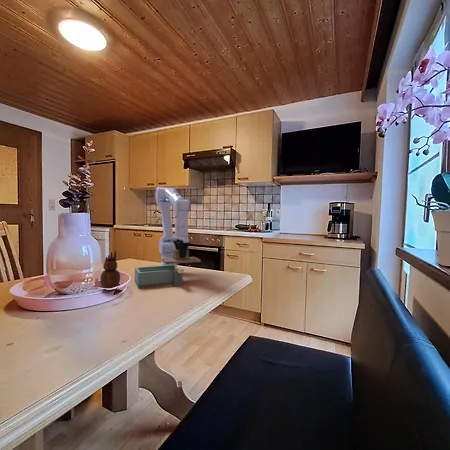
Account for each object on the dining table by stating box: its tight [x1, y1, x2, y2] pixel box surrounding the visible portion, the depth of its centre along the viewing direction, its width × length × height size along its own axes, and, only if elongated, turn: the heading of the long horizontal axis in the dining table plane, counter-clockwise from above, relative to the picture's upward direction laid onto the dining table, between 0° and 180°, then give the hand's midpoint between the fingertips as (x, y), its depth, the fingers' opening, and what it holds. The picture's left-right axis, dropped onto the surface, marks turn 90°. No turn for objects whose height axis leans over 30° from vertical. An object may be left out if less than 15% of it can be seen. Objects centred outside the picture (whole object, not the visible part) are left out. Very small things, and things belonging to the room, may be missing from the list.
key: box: [175, 265, 185, 274], centre depth 105 cm, size 6×2×2 cm, turn 26°
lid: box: [161, 249, 202, 264], centre depth 115 cm, size 8×15×5 cm, turn 116°
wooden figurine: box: [99, 250, 121, 289], centre depth 99 cm, size 7×6×15 cm
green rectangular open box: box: [134, 264, 183, 289], centre depth 110 cm, size 14×18×6 cm
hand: (181, 257), depth 115 cm, fingers closed on lid, 4 cm apart
